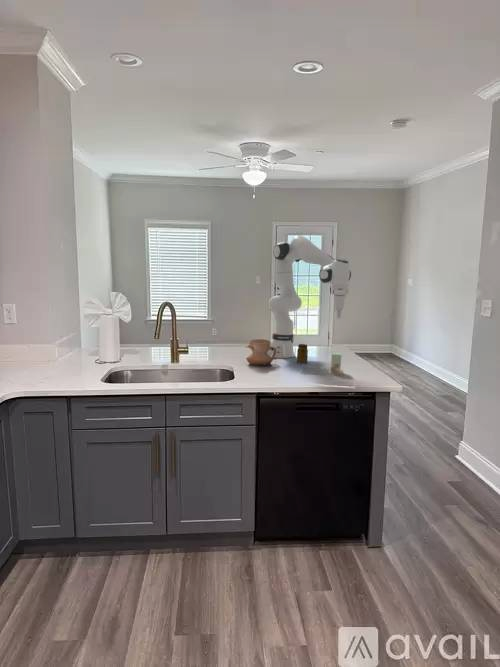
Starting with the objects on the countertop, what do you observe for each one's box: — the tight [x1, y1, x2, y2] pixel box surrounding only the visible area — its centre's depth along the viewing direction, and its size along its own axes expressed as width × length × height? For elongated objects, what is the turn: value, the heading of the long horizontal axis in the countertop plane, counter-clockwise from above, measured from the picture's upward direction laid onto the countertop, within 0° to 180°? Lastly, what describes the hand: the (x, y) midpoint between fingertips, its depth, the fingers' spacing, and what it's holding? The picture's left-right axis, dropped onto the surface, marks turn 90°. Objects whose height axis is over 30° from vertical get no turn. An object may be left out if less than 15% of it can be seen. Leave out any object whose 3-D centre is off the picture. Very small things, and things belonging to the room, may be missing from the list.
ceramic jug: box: [245, 338, 276, 367], centre depth 250 cm, size 18×14×14 cm
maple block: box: [330, 363, 342, 373], centre depth 233 cm, size 5×5×5 cm
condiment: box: [296, 343, 309, 365], centre depth 252 cm, size 7×8×12 cm
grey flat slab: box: [300, 366, 344, 378], centre depth 234 cm, size 22×15×1 cm
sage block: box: [330, 352, 342, 365], centre depth 232 cm, size 5×5×5 cm
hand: (338, 316), depth 228 cm, fingers open, 8 cm apart
